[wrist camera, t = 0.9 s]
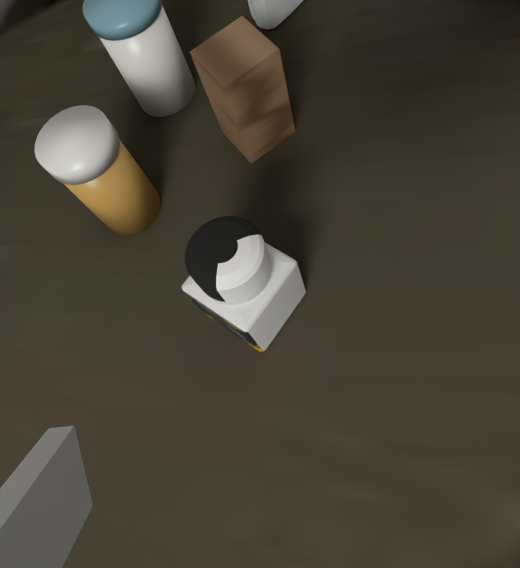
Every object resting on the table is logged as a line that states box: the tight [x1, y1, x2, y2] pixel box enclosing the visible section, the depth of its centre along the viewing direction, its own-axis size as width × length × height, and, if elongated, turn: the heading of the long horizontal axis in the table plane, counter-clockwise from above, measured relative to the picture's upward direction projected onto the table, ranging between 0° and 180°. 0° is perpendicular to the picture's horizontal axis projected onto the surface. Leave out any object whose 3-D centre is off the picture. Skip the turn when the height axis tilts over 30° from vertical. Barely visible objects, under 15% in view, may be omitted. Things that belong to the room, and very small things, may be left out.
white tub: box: [83, 0, 196, 117], centre depth 52 cm, size 8×8×13 cm
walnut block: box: [190, 16, 295, 163], centre depth 48 cm, size 6×6×11 cm
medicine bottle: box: [182, 216, 306, 352], centre depth 40 cm, size 7×7×12 cm
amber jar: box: [35, 106, 161, 235], centre depth 47 cm, size 7×7×12 cm
